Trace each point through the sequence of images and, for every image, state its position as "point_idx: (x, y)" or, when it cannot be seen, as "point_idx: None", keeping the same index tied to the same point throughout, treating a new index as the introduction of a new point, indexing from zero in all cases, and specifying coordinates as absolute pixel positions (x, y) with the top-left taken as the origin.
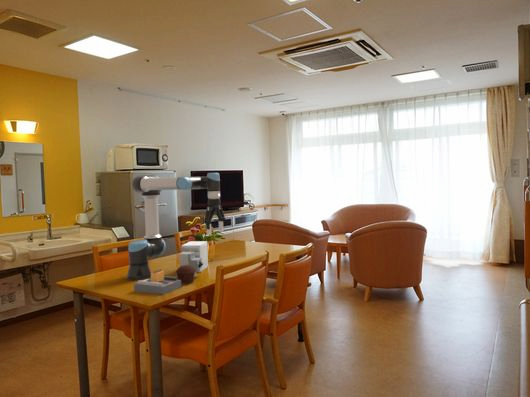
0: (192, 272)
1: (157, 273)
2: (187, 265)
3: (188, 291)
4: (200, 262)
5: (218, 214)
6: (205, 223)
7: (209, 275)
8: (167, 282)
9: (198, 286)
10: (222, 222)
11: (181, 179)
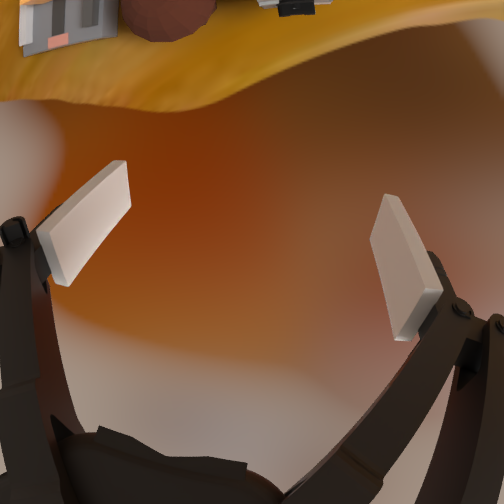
0: (156, 41)
1: (23, 3)
2: (159, 1)
3: (85, 99)
4: (302, 1)
5: (331, 450)
6: (14, 230)
7: (332, 41)
8: (58, 25)
9: (143, 90)
10: (394, 326)
11: None
